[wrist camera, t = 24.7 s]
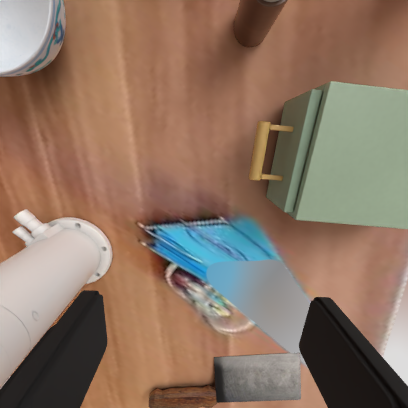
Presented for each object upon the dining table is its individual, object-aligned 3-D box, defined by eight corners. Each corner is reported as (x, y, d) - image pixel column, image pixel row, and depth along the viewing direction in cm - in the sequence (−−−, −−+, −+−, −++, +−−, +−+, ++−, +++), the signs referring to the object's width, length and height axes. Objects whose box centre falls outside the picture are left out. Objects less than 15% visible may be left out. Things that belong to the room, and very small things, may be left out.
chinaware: (93, -40, 23) (42, -127, 15) (95, 101, 27) (56, 86, 20) (-44, -69, 22) (-169, -177, 14) (-19, 82, 26) (-105, 59, 19)
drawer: (238, 194, 31) (249, 209, 24) (253, 98, 26) (270, 84, 20) (377, 207, 32) (424, 223, 25) (412, 116, 28) (479, 107, 21)
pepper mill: (226, 23, 25) (240, -40, 16) (254, -5, 24) (285, -87, 15) (246, 55, 26) (270, 12, 17) (274, 29, 25) (313, -30, 16)
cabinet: (270, 199, 32) (295, 220, 24) (290, 99, 27) (330, 80, 19) (385, 209, 33) (448, 232, 24) (422, 114, 28) (516, 102, 20)
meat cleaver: (300, 352, 42) (309, 372, 39) (295, 386, 46) (304, 409, 42) (146, 359, 43) (141, 381, 39) (153, 393, 46) (149, 416, 42)
